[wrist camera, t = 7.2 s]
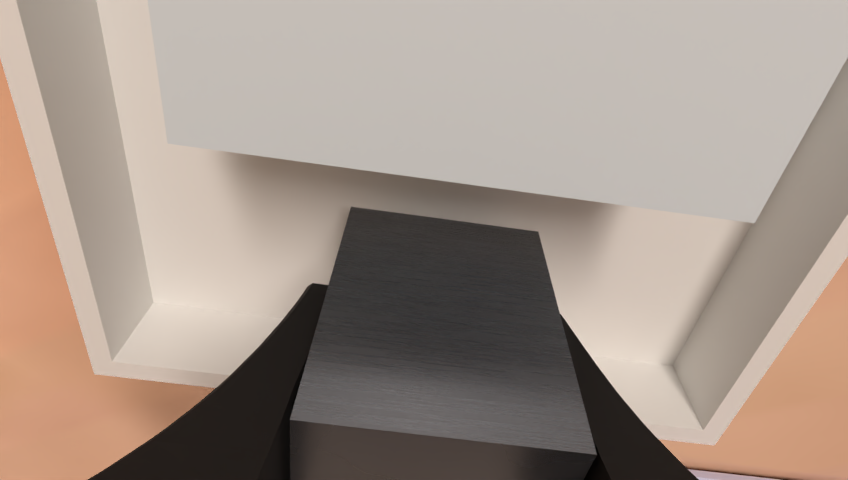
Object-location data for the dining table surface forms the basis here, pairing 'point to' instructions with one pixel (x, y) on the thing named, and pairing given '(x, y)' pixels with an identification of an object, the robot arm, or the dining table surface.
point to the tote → (344, 188)
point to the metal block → (439, 360)
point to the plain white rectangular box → (511, 91)
